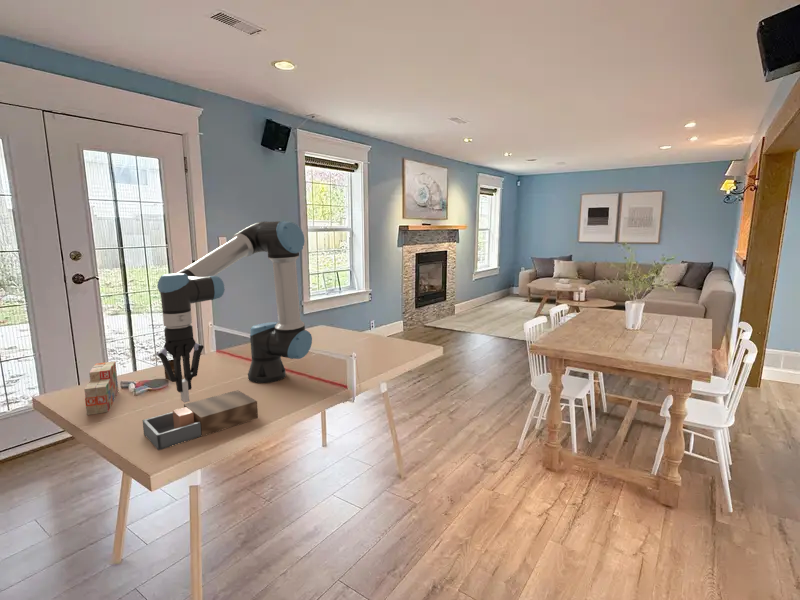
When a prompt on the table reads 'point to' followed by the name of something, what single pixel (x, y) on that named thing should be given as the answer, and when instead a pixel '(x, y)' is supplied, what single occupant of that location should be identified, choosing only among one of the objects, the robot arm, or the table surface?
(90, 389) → the stack of blocks
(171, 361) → the utensil holder
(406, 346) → the table surface
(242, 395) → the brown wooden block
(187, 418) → the salmon orange block
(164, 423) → the box
